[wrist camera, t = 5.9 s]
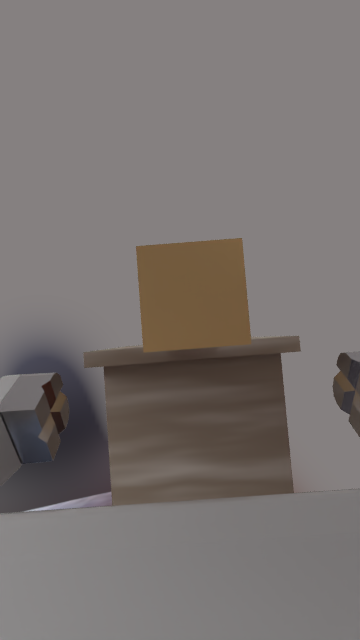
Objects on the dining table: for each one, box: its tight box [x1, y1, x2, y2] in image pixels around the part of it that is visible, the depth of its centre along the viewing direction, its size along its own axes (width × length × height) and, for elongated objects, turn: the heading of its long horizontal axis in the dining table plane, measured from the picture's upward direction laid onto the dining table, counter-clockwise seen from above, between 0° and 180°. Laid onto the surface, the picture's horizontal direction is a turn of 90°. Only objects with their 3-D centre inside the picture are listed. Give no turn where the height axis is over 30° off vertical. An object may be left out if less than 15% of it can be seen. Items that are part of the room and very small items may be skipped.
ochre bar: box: [136, 238, 251, 353], centre depth 23 cm, size 22×4×4 cm, turn 0°
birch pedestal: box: [84, 336, 301, 506], centre depth 28 cm, size 16×14×26 cm
